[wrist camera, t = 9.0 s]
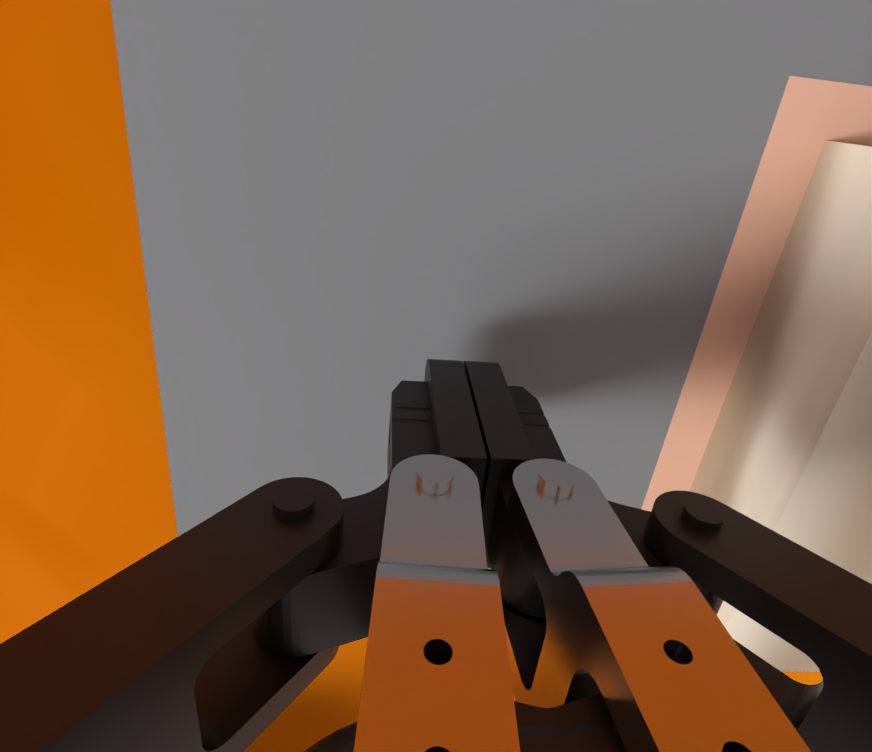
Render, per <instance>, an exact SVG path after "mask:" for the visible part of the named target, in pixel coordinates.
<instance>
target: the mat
mask: <svg viewBox="0 0 872 752" xmlns="http://www.w3.org/2000/svg"><path fill="white" fill-rule="evenodd" d="M110 1H111V9H112V17H113V25H114V33H115V41H116V49H117V57H118V65H119V73H120V81H121V89H122V97H123V104H124V112H125V120H126V128H127V136H128V144H129V152H130V160H131V168H132V176H133V184H134V192H135V200H136V207H137V215H138V223H139V231H140V239H141V247H142V255H143V263H144V271H145V279H146V287H147V295H148V303H149V310H150V318H151V326H152V334H153V342H154V350H155V358H156V366H157V374H158V382H159V390H160V398H161V406H162V413H163V421H164V429H165V437H166V445H167V453H168V461H169V469H170V477H171V485H172V493H173V501H174V509H175V517H176V524H177V532H178V536H180V535H182V534H183V533H185V532H187V531H188V530H190V529H192V528H193V527H195V526H197V525H198V524H200V523H201V522H203V521H205V520H206V519H208V518H210V517H211V516H213V515H215V514H216V513H218V512H220V511H221V510H223V509H225V508H226V507H228V506H230V505H231V504H233V503H235V502H236V501H238V500H240V499H241V498H243V497H244V496H246V495H248V494H249V493H251V492H253V491H254V490H256V489H258V488H259V487H261V486H263V485H265V484H267V483H270V482H272V481H275V480H279V479H283V478H290V477H307V478H313V479H317V480H320V481H323V482H325V483H327V484H329V485H331V486H332V487H334V488H335V489H336V490H337V491H338V492H339V494H340V495H341V497H342V499H345V498H350V497H355V496H359V495H363V494H365V493H368V492H370V491H372V490H374V489H376V488H378V487H379V486H381V485H382V484H383V483H384V482H385V481H386V480H387V453H388V438H389V423H390V409H391V394H392V391H393V390H394V389H395V388H396V387H397V385H398V384H399V383H400V382H401V381H402V380H404V381H424V377H425V368H426V362H427V359H440V360H458V361H462V362H463V361H478V362H496V363H499V364H500V367H501V370H502V372H503V375H504V377H505V380H506V383H507V385H508V386H522V387H523V388H525V389H526V390H527V391H528V392H529V393H531V394H532V395H533V396H534V397H535V398H537V399H538V401H539V404H540V406H541V408H542V410H543V412H544V416H545V417H546V419H547V421H548V423H549V428H551V430H552V432H553V434H554V436H555V438H556V441H557V443H558V445H559V447H560V449H561V451H562V454H563V456H564V458H565V460H566V462H567V463H569V464H572V465H574V466H576V467H578V468H580V469H582V470H583V471H585V472H586V473H587V474H589V475H590V476H591V477H592V478H593V479H594V481H595V482H596V483H597V485H598V486H599V488H600V490H601V491H602V493H603V494H604V496H605V498H606V499H607V500H608V501H611V502H614V503H618V504H622V505H626V506H630V507H634V508H638V509H642V510H646V511H650V512H651V511H652V508H653V505H654V502H655V500H656V498H657V497H658V496H659V495H661V494H663V493H665V492H669V491H689V490H690V488H691V485H692V482H693V480H694V477H695V475H696V472H697V470H698V467H699V464H700V462H701V459H702V457H703V454H704V452H705V449H706V446H707V444H708V441H709V439H710V436H711V434H712V431H713V428H714V426H715V423H716V421H717V418H718V416H719V413H720V410H721V408H722V405H723V403H724V400H725V397H726V395H727V392H728V390H729V387H730V385H731V382H732V379H733V377H734V374H735V372H736V369H737V367H738V364H739V361H740V359H741V356H742V354H743V351H744V349H745V346H746V343H747V341H748V338H749V336H750V333H751V331H752V328H753V325H754V323H755V320H756V318H757V315H758V313H759V310H760V307H761V305H762V302H763V300H764V297H765V295H766V292H767V289H768V287H769V284H770V282H771V279H772V277H773V274H774V271H775V269H776V266H777V264H778V261H779V259H780V256H781V253H782V251H783V248H784V246H785V243H786V241H787V238H788V235H789V233H790V230H791V228H792V225H793V222H794V220H795V217H796V215H797V212H798V210H799V207H800V204H801V202H802V199H803V197H804V194H805V192H806V189H807V186H808V184H809V181H810V179H811V176H812V174H813V171H814V168H815V166H816V163H817V161H818V158H819V156H820V153H821V150H822V148H823V145H824V143H825V140H827V141H835V142H843V143H851V144H859V145H867V146H872V0H110ZM487 569H491V568H487Z"/></svg>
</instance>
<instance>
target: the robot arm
mask: <svg viewBox="0 0 872 752" xmlns="http://www.w3.org/2000/svg"><path fill="white" fill-rule="evenodd" d="M487 568H491V569H487ZM723 601H725V602H726V603H728V604H729V605H731V606H733V607H734V608H736V609H737V610H739V611H740V612H742V613H743V614H745V615H746V616H748V617H749V618H751V619H753V620H754V621H756V622H757V623H759V624H760V625H762V626H763V627H765V628H766V629H768V630H769V631H771V632H772V633H774V634H776V635H777V636H779V637H780V638H782V639H783V640H785V641H786V642H788V643H789V644H791V645H792V646H794V647H796V648H797V649H799V650H800V651H802V652H803V653H804V654H806V655H807V656H808V657H809V658H810V659H812V661H813V662H814V663H815V664H816V665H817V667H818V668H819V670H820V672H821V674H822V677H823V681H822V682H821V683H819V684H816V685H806V684H802V683H799V682H797V681H795V680H793V679H791V678H789V677H788V676H786V675H785V674H784V673H782V672H781V671H779V670H778V669H776V668H775V667H773V666H772V665H770V664H769V663H768V662H766V661H765V660H763V659H762V658H760V657H759V656H757V655H756V654H754V653H753V652H752V651H750V650H749V649H747V648H746V647H744V646H743V645H741V644H740V643H738V642H737V641H735V640H734V639H733V638H732V637H731V635H730V634H729V632H728V631H727V630H726V628H725V627H724V625H723V624H722V622H721V621H720V619H719V618H718V617H717V613H718V611H719V609H720V607H721V605H722V602H723ZM366 637H368V643H367V650H366V658H365V666H364V674H363V682H362V690H361V698H360V706H359V714H358V722H356V723H353V724H351V725H349V726H346V727H344V728H342V729H339V730H337V731H335V732H334V733H332V734H330V735H328V736H327V737H325V738H323V739H321V740H320V741H318V742H317V743H315V744H314V745H313V746H311V747H310V748H308V749H307V750H306V751H304V752H872V584H871V583H869V582H867V581H865V580H863V579H861V578H859V577H858V576H856V575H854V574H852V573H850V572H848V571H847V570H845V569H843V568H841V567H839V566H837V565H836V564H834V563H832V562H830V561H828V560H826V559H824V558H823V557H821V556H819V555H817V554H815V553H813V552H812V551H810V550H808V549H806V548H804V547H802V546H801V545H799V544H797V543H795V542H793V541H791V540H789V539H788V538H786V537H784V536H782V535H780V534H778V533H777V532H775V531H773V530H771V529H769V528H767V527H766V526H764V525H762V524H760V523H758V522H756V521H754V520H753V519H751V518H749V517H747V516H745V515H743V514H742V513H740V512H738V511H736V510H734V509H732V508H730V507H729V506H727V505H725V504H723V503H721V502H719V501H717V500H715V499H713V498H711V497H708V496H706V495H702V494H699V493H695V492H690V491H669V492H665V493H663V494H661V495H659V496H658V497H657V498H656V500H655V502H654V505H653V508H652V511H651V512H650V511H646V510H642V509H638V508H634V507H630V506H626V505H622V504H618V503H614V502H611V501H608V500H607V499H606V498H605V496H604V494H603V493H602V491H601V490H600V488H599V486H598V485H597V483H596V482H595V481H594V479H593V478H592V477H591V476H590V475H589V474H587V473H586V472H585V471H583V470H582V469H580V468H578V467H576V466H574V465H572V464H569V463H567V462H566V460H565V458H564V456H563V454H562V451H561V449H560V447H559V445H558V443H557V441H556V438H555V436H554V434H553V432H552V430H551V428H549V423H548V421H547V419H546V417H545V416H544V412H543V410H542V408H541V406H540V404H539V401H538V399H537V398H535V397H534V396H533V395H532V394H531V393H529V392H528V391H527V390H526V389H525V388H523V387H522V386H508V385H507V383H506V380H505V377H504V375H503V372H502V370H501V367H500V364H499V363H496V362H478V361H463V362H462V361H458V360H440V359H427V362H426V368H425V377H424V381H404V380H402V381H401V382H400V383H399V384H398V385H397V387H396V388H395V389H394V390H393V391H392V394H391V409H390V423H389V438H388V453H387V480H386V481H385V482H384V483H383V484H382V485H381V486H379V487H378V488H376V489H374V490H372V491H370V492H368V493H365V494H363V495H359V496H355V497H350V498H345V499H342V497H341V495H340V494H339V492H338V491H337V490H336V489H335V488H334V487H332V486H331V485H329V484H327V483H325V482H323V481H320V480H317V479H313V478H307V477H290V478H283V479H279V480H275V481H272V482H270V483H267V484H265V485H263V486H261V487H259V488H258V489H256V490H254V491H253V492H251V493H249V494H248V495H246V496H244V497H243V498H241V499H240V500H238V501H236V502H235V503H233V504H231V505H230V506H228V507H226V508H225V509H223V510H221V511H220V512H218V513H216V514H215V515H213V516H211V517H210V518H208V519H206V520H205V521H203V522H201V523H200V524H198V525H197V526H195V527H193V528H192V529H190V530H188V531H187V532H185V533H183V534H182V535H180V536H178V537H177V538H175V539H173V540H172V541H170V542H168V543H167V544H165V545H163V546H162V547H160V548H159V549H157V550H155V551H154V552H152V553H150V554H149V555H147V556H145V557H144V558H142V559H140V560H139V561H137V562H135V563H134V564H132V565H130V566H129V567H127V568H125V569H124V570H122V571H120V572H119V573H117V574H116V575H114V576H112V577H111V578H109V579H107V580H106V581H104V582H102V583H101V584H99V585H97V586H96V587H94V588H92V589H91V590H89V591H87V592H86V593H84V594H82V595H81V596H79V597H77V598H76V599H74V600H73V601H71V602H69V603H68V604H66V605H64V606H63V607H61V608H59V609H58V610H56V611H54V612H53V613H51V614H49V615H48V616H46V617H44V618H43V619H41V620H39V621H38V622H36V623H34V624H33V625H31V626H30V627H28V628H26V629H25V630H23V631H21V632H20V633H18V634H16V635H15V636H13V637H11V638H10V639H8V640H6V641H5V642H3V643H1V644H0V752H243V751H244V750H245V749H246V748H247V747H248V746H249V745H250V744H251V743H252V742H253V741H254V740H255V739H256V738H257V737H258V736H259V735H260V734H261V733H262V732H263V731H264V730H265V729H266V728H267V727H268V726H269V725H270V724H271V723H272V722H273V721H274V720H275V719H276V718H277V717H278V715H279V714H280V713H281V712H282V711H283V710H284V709H285V708H286V707H287V706H288V705H289V704H290V703H291V702H292V701H293V700H294V699H295V698H296V697H297V696H298V695H299V694H300V693H301V692H302V691H303V690H304V689H305V688H306V687H307V686H308V685H309V684H310V683H311V682H312V681H313V680H314V679H315V678H316V677H317V676H318V675H319V674H320V673H321V672H322V671H323V670H324V669H325V668H326V666H327V665H328V664H329V663H330V662H331V661H332V660H333V658H334V657H335V655H336V653H337V651H338V648H339V645H343V644H346V643H349V642H353V641H356V640H359V639H362V638H366ZM513 694H514V696H513ZM514 697H515V701H514Z"/></svg>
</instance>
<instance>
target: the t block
mask: <svg viewBox="0 0 872 752" xmlns="http://www.w3.org/2000/svg"><path fill="white" fill-rule="evenodd" d="M689 491H690V492H695V493H699V494H702V495H706V496H708V497H711V498H713V499H715V500H717V501H719V502H721V503H723V504H725V505H727V506H729V507H730V508H732V509H734V510H736V511H738V512H740V513H742V514H743V515H745V516H747V517H749V518H751V519H753V520H754V521H756V522H758V523H760V524H762V525H764V526H766V527H767V528H769V529H771V530H773V531H775V532H777V533H778V534H780V535H782V536H784V537H786V538H788V539H789V540H791V541H793V542H795V543H797V544H799V545H801V546H802V547H804V548H806V549H808V550H810V551H812V552H813V553H815V554H817V555H819V556H821V557H823V558H824V559H826V560H828V561H830V562H832V563H834V564H836V565H837V566H839V567H841V568H843V569H845V570H847V571H848V572H850V573H852V574H854V575H856V576H858V577H859V578H861V579H863V580H865V581H867V582H869V583H871V584H872V146H867V145H859V144H851V143H843V142H835V141H827V140H825V143H824V145H823V148H822V150H821V153H820V156H819V158H818V161H817V163H816V166H815V168H814V171H813V174H812V176H811V179H810V181H809V184H808V186H807V189H806V192H805V194H804V197H803V199H802V202H801V204H800V207H799V210H798V212H797V215H796V217H795V220H794V222H793V225H792V228H791V230H790V233H789V235H788V238H787V241H786V243H785V246H784V248H783V251H782V253H781V256H780V259H779V261H778V264H777V266H776V269H775V271H774V274H773V277H772V279H771V282H770V284H769V287H768V289H767V292H766V295H765V297H764V300H763V302H762V305H761V307H760V310H759V313H758V315H757V318H756V320H755V323H754V325H753V328H752V331H751V333H750V336H749V338H748V341H747V343H746V346H745V349H744V351H743V354H742V356H741V359H740V361H739V364H738V367H737V369H736V372H735V374H734V377H733V379H732V382H731V385H730V387H729V390H728V392H727V395H726V397H725V400H724V403H723V405H722V408H721V410H720V413H719V416H718V418H717V421H716V423H715V426H714V428H713V431H712V434H711V436H710V439H709V441H708V444H707V446H706V449H705V452H704V454H703V457H702V459H701V462H700V464H699V467H698V470H697V472H696V475H695V477H694V480H693V482H692V485H691V488H690V490H689ZM717 617H718V618H719V619H720V621H721V622H722V624H723V625H724V627H725V628H726V630H727V631H728V632H729V634H730V635H731V637H732V638H733V639H734V640H735V641H737V642H738V643H740V644H741V645H743V646H744V647H746V648H747V649H749V650H750V651H752V652H753V653H754V654H756V655H757V656H759V657H760V658H762V659H763V660H765V661H766V662H768V663H769V664H770V665H772V666H773V667H775V668H776V669H778V670H779V671H820V670H819V668H818V667H817V665H816V664H815V663H814V662H813V661H812V659H810V658H809V657H808V656H807V655H806V654H804V653H803V652H802V651H800V650H799V649H797V648H796V647H794V646H792V645H791V644H789V643H788V642H786V641H785V640H783V639H782V638H780V637H779V636H777V635H776V634H774V633H772V632H771V631H769V630H768V629H766V628H765V627H763V626H762V625H760V624H759V623H757V622H756V621H754V620H753V619H751V618H749V617H748V616H746V615H745V614H743V613H742V612H740V611H739V610H737V609H736V608H734V607H733V606H731V605H729V604H728V603H726V602H725V601H723V602H722V605H721V607H720V609H719V611H718V613H717Z"/></svg>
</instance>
